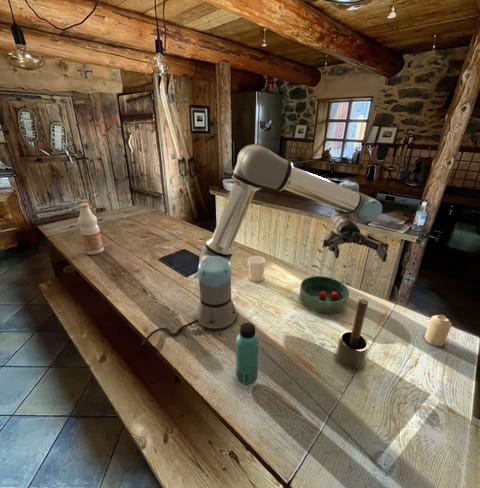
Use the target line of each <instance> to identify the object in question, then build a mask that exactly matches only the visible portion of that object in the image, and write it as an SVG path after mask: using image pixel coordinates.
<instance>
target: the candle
mask: <svg viewBox="0 0 480 488" xmlns="http://www.w3.org/2000/svg"><path fill="white" fill-rule="evenodd" d="M452 325H453V324H452V322H451V320H450V319H448V318H447V316H445V315H444V314H438V315H437V314H435V315H433V316H431V318H430V321H429V324H428V326H427V329H426V332H425V334H424V340H425V341H426V342H427V343H428V344H429V345H432V346H435V347H443V346H444V344H445V342H446V339H447V337H448V336H449V332H450V330H451V327H452Z"/></svg>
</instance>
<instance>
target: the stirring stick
mask: <svg viewBox="0 0 480 488" xmlns="http://www.w3.org/2000/svg"><path fill="white" fill-rule="evenodd" d="M368 306H369V301H368V300H367V299H365V298H360V299H359V300H358V302H357V307H356V311H355V316H354V321H353V325H352V329H351V331H352V333H351V338H350V342H349V347H350V348H353V349H357V346H358V342H359V338H360V334H361V335H362V329H363V325H364V322H365V317H366V313H367V309H368Z"/></svg>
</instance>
